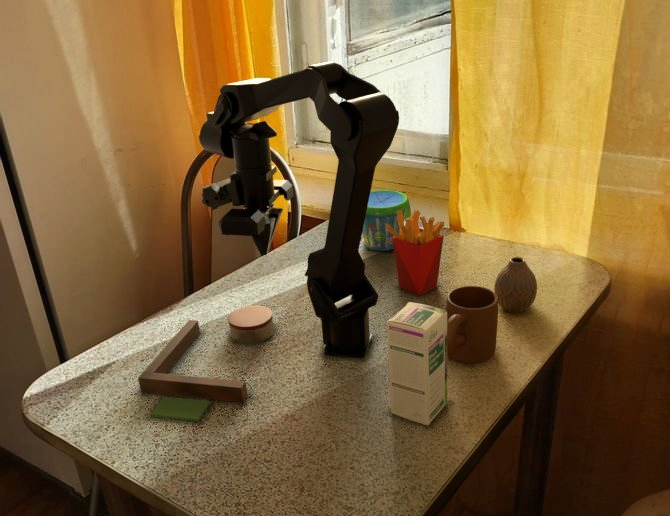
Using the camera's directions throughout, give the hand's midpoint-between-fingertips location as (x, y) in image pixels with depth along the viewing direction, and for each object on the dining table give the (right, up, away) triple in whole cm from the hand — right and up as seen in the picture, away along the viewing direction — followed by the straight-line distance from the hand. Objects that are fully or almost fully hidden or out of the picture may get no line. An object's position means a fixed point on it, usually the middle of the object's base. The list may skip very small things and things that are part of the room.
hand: (264, 254), depth 112 cm
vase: (+42, -9, +1) cm, 43 cm away
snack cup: (+21, +3, +26) cm, 34 cm away
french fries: (+26, -6, +8) cm, 28 cm away
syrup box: (+24, -22, -23) cm, 40 cm away
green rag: (-8, -23, -21) cm, 32 cm away
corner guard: (-6, -17, -11) cm, 21 cm away
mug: (+32, -17, -12) cm, 38 cm away
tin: (-1, -13, -3) cm, 13 cm away
